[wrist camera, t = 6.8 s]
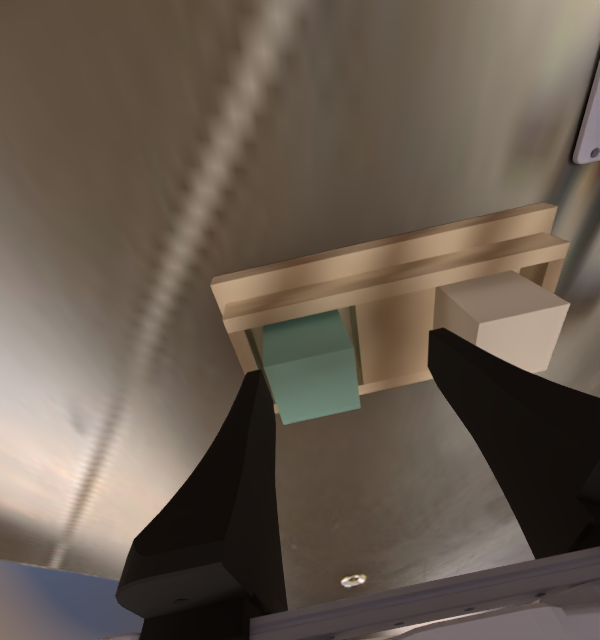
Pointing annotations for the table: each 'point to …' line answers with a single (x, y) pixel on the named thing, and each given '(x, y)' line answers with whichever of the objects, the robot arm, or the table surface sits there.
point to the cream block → (503, 317)
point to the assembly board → (388, 288)
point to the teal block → (310, 366)
